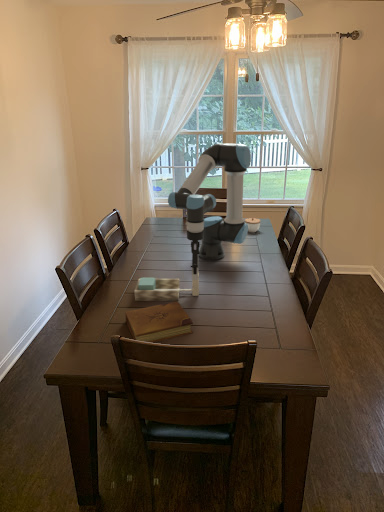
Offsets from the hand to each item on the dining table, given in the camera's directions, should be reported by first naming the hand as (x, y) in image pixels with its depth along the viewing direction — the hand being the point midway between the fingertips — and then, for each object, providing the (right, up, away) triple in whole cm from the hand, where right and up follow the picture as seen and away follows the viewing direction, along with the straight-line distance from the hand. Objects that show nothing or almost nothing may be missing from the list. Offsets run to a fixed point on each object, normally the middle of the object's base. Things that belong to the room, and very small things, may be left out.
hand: (195, 273), depth 174 cm
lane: (-18, -10, +5) cm, 21 cm away
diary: (-15, -22, -21) cm, 33 cm away
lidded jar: (+41, +26, +90) cm, 102 cm away
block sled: (-12, -10, +5) cm, 16 cm away
